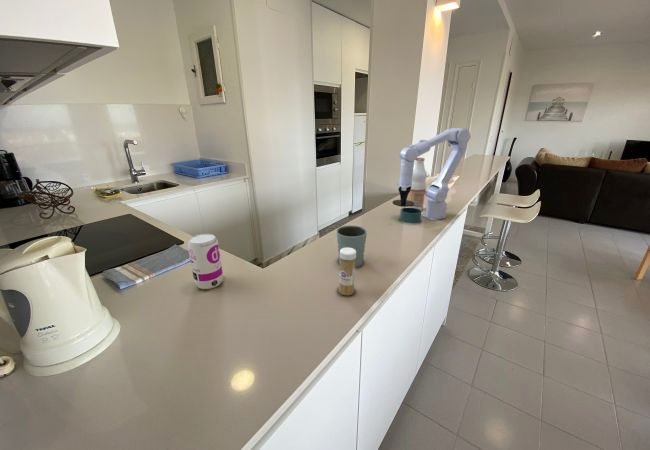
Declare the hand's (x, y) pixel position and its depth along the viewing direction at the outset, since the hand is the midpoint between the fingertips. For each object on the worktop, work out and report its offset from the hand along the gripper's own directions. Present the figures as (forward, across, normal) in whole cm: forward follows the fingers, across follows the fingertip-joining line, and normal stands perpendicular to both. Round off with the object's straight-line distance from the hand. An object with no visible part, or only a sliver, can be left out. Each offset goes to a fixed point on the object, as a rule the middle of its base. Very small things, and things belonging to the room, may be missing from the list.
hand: (403, 201), depth 135 cm
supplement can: (+9, +79, -50) cm, 94 cm away
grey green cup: (+9, +51, -13) cm, 53 cm away
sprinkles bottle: (+9, +69, -9) cm, 70 cm away
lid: (+1, 0, 0) cm, 1 cm away
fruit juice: (+10, -20, +5) cm, 23 cm away
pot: (+9, 0, +4) cm, 10 cm away
